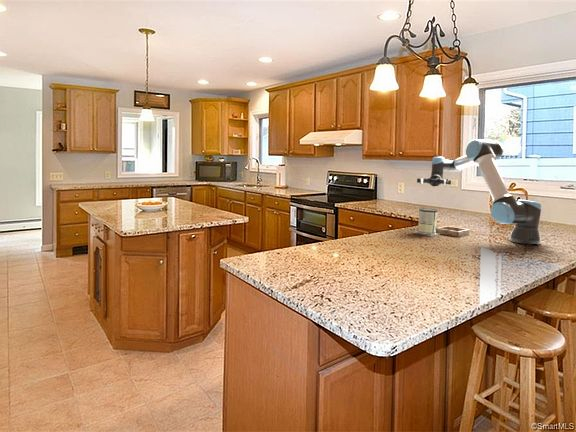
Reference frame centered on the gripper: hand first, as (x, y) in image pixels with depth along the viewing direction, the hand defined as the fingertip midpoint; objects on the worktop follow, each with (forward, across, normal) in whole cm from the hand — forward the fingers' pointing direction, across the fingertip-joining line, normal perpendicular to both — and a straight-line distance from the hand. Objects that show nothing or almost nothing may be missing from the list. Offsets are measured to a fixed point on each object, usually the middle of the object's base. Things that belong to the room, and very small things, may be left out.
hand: (432, 182), depth 254 cm
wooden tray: (+5, -14, -30) cm, 33 cm away
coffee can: (+14, 0, -30) cm, 33 cm away
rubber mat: (+14, 0, -30) cm, 33 cm away
